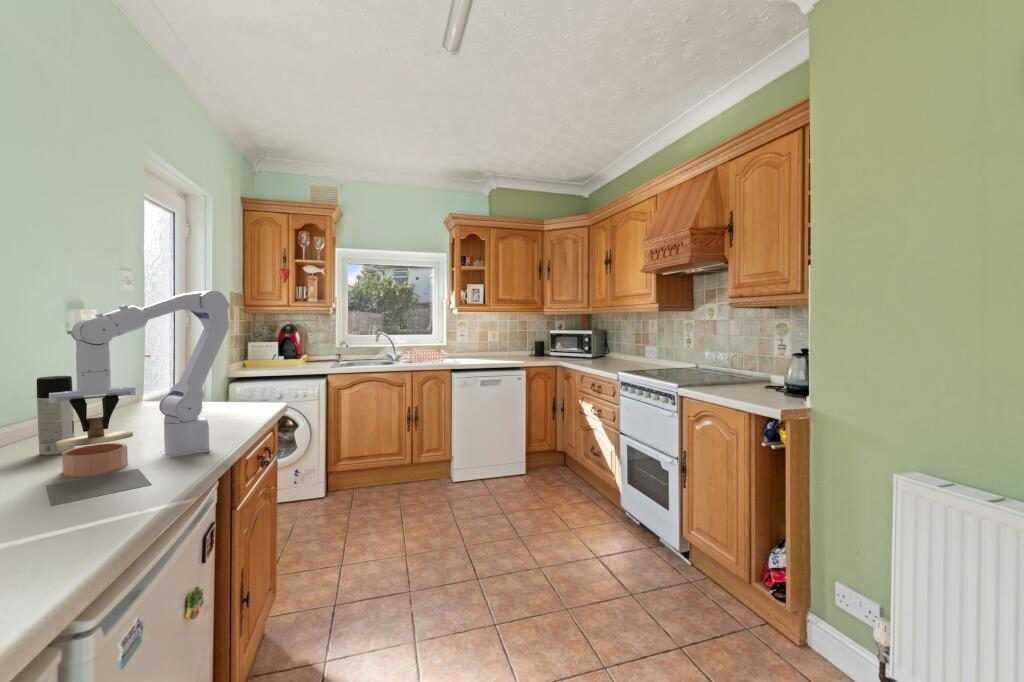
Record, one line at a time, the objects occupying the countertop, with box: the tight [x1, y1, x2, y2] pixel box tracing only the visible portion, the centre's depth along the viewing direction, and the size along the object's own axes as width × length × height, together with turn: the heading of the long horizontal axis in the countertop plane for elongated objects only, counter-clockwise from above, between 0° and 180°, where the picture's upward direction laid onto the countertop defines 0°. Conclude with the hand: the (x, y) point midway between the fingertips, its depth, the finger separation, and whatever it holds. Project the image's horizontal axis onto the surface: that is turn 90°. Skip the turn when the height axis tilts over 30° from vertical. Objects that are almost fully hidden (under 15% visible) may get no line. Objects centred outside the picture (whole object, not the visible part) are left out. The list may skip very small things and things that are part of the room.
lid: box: [56, 416, 134, 447], centre depth 104 cm, size 13×13×5 cm
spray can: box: [36, 375, 76, 456], centre depth 119 cm, size 7×7×20 cm
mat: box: [45, 468, 153, 507], centre depth 95 cm, size 15×15×1 cm
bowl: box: [61, 442, 129, 478], centre depth 106 cm, size 11×11×5 cm
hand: (95, 429), depth 104 cm, fingers closed on lid, 3 cm apart
